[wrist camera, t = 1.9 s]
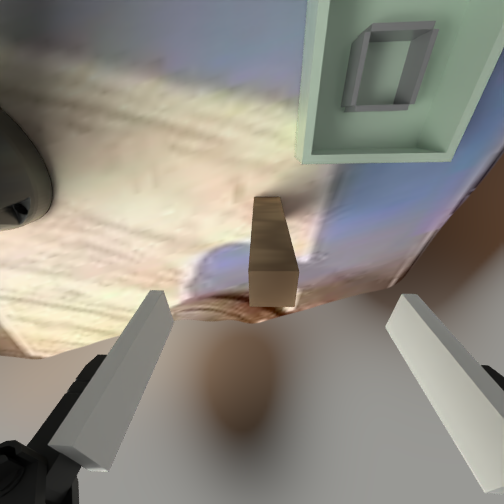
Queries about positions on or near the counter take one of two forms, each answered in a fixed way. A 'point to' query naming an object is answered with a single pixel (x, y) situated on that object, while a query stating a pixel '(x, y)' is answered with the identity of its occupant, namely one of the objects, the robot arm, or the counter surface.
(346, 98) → the pale green square tray
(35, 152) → the robot arm
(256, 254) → the wooden square beam
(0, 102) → the counter surface
